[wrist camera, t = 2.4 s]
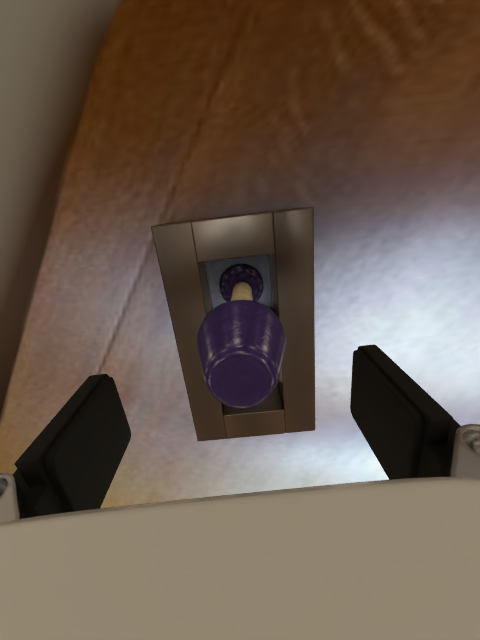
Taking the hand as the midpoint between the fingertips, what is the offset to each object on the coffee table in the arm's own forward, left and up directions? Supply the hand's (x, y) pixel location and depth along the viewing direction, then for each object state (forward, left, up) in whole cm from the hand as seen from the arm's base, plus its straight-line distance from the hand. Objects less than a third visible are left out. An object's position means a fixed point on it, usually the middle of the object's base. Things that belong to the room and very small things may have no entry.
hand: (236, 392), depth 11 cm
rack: (+3, +3, -17) cm, 18 cm away
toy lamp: (0, 0, -17) cm, 17 cm away
